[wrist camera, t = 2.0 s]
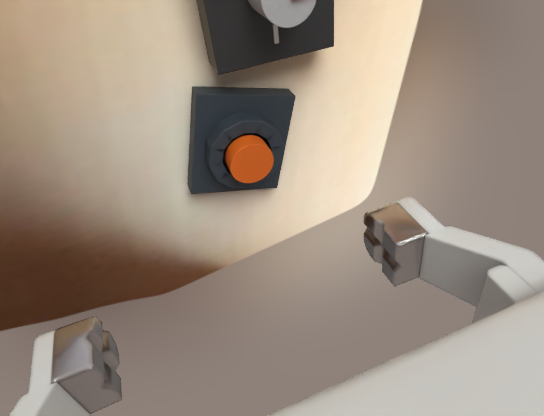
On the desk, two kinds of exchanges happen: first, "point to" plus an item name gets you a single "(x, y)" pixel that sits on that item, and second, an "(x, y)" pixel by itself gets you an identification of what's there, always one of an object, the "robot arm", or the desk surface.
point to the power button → (249, 159)
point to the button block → (235, 133)
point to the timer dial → (284, 11)
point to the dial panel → (259, 34)
